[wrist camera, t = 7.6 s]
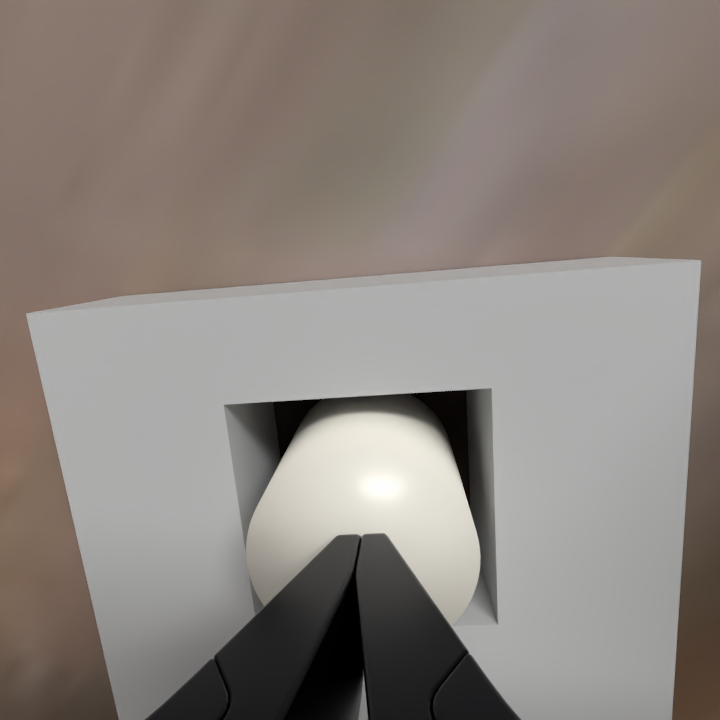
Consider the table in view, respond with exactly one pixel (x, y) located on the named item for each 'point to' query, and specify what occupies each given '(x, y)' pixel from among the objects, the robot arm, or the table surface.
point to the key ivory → (368, 497)
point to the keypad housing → (384, 377)
